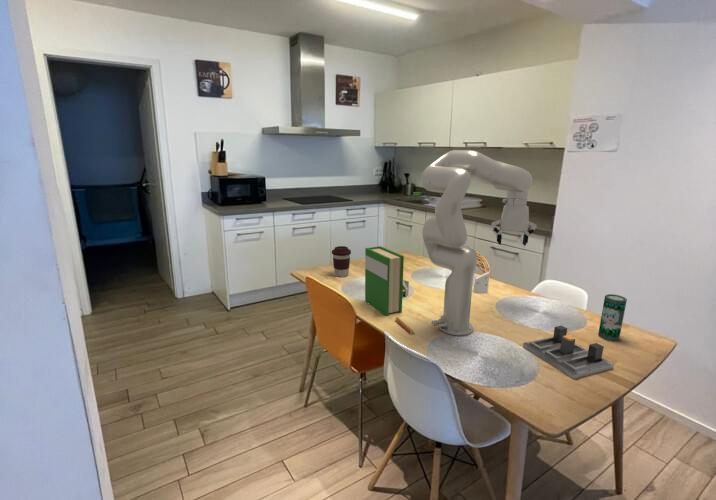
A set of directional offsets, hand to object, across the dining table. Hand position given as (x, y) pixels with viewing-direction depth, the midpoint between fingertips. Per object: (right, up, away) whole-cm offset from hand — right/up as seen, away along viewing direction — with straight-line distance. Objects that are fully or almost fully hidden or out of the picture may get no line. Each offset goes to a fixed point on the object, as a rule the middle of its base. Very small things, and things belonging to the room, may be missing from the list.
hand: (511, 244), depth 158 cm
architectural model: (-42, -24, +18) cm, 52 cm away
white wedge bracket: (-6, -22, +22) cm, 32 cm away
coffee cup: (-72, -16, +46) cm, 86 cm away
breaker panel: (+4, -37, -34) cm, 50 cm away
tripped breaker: (+4, -35, -35) cm, 49 cm away
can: (+26, -33, -21) cm, 47 cm away
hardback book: (-52, -27, +5) cm, 59 cm away
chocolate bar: (-46, -32, -14) cm, 57 cm away
